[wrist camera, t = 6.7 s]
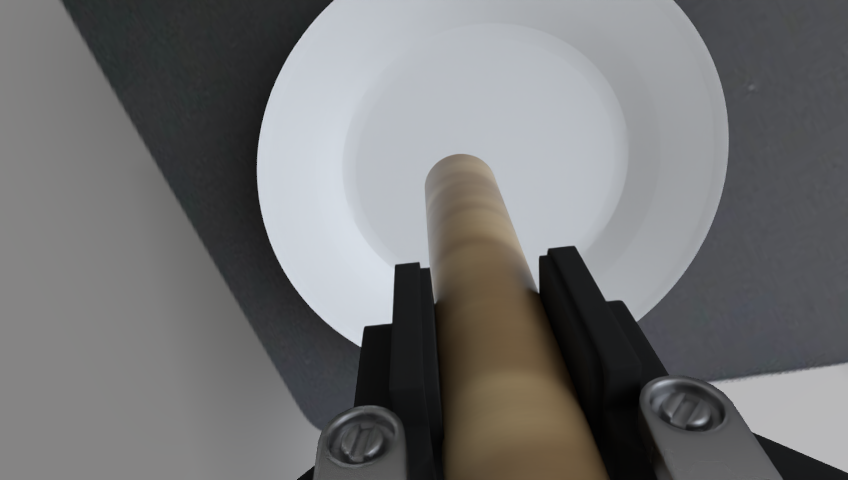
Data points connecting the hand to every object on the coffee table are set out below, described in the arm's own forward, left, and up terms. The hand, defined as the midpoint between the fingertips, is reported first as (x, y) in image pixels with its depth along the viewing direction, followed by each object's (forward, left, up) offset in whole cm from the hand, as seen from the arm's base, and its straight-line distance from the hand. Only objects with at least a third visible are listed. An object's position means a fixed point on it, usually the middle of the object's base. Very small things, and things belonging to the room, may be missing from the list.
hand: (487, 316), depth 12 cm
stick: (0, 0, -8) cm, 8 cm away
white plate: (+2, -5, -22) cm, 22 cm away
